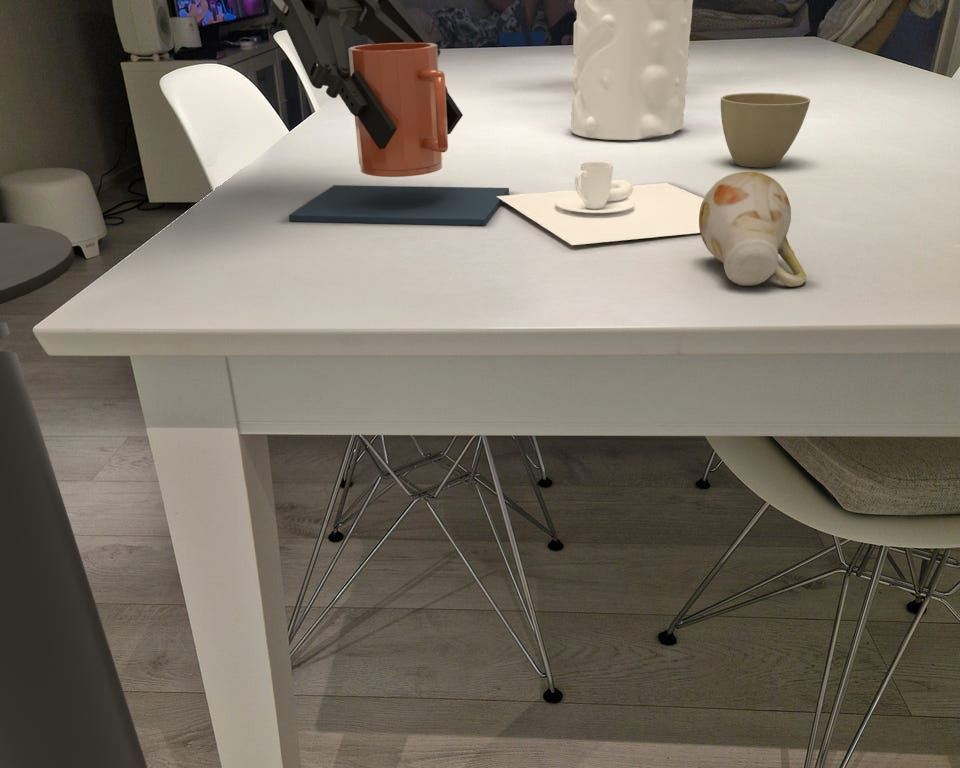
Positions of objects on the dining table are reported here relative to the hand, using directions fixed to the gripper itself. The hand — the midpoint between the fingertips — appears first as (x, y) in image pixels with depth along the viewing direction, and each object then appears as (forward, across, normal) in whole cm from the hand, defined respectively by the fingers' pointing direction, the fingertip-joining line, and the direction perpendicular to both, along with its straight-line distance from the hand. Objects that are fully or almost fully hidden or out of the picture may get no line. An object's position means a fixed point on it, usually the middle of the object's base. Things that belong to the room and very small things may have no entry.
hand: (422, 131), depth 90 cm
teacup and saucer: (+17, -10, +7) cm, 21 cm away
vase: (-1, -51, -12) cm, 52 cm away
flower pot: (+17, -40, +6) cm, 44 cm away
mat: (+3, 0, -8) cm, 8 cm away
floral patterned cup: (+31, 0, +20) cm, 37 cm away
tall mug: (+1, 0, -4) cm, 4 cm away
